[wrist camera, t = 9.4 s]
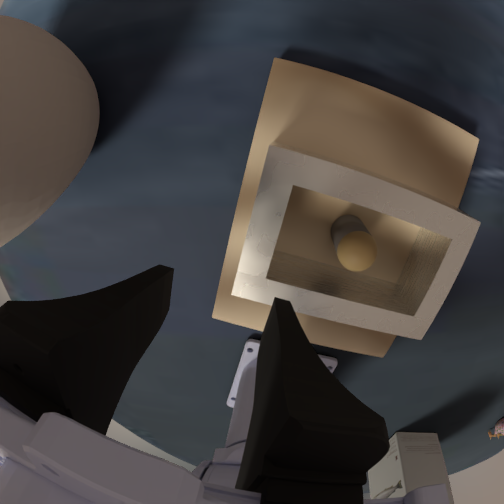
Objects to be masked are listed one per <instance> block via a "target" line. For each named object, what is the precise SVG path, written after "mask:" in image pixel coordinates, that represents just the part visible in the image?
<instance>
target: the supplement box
mask: <svg viewBox="0 0 504 504" xmlns="http://www.w3.org/2000/svg"><path fill="white" fill-rule="evenodd" d="M389 444H390V448H389V451H388V453H387V454H386V455H385V456H384V457H383V458H382V460H380V461H379V462H378V463H377V464H376V465H375V466H373V467H372V468H371V469H370V470H368V476H369V487H370V499H384V498H396V497H404V496H405V495H406V494H407V493H409V492H410V491H412V490H414V489H416V488H419V487H422V486H429V485H435V484H442V483H444V484H446V489H447V494H448V498H449V503H450V504H454V501H453V496H452V492H451V487H450V482H449V478H448V474H447V469H446V465H445V462H444V458H443V454H442V450H441V447H440V443H439V440H438V436H437V433H416V432H396V433H395V434H394V435H393V436H392V438H390V439H389Z"/></svg>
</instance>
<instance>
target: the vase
mask: <svg viewBox="0 0 504 504" xmlns="http://www.w3.org/2000/svg"><path fill="white" fill-rule="evenodd" d="M99 115H100V110H99V100H98V94H97V90H96V87H95V84H94V82H93V80H92V78H91V76H90V74H89V73H88V71H87V69H86V68H85V66H84V65H83V63H82V62H81V61H80V60H79V59H78V58H77V56H76V55H75V54H74V53H73V52H72V51H71V50H70V49H69V48H68V47H67V46H66V45H65V44H64V43H62V42H61V41H60V40H59V39H57V38H56V37H54V36H53V35H51V34H50V33H48V32H47V31H45V30H44V29H42V28H40V27H37V26H35V25H33V24H31V23H28V22H26V21H23V20H20V19H16V18H12V17H9V16H2V15H0V247H1V246H3V245H4V244H6V243H7V242H9V241H10V240H11V239H13V238H14V237H16V236H17V235H19V234H20V233H21V232H23V231H24V230H25V229H26V228H27V227H29V226H30V225H31V224H32V223H33V222H35V221H36V220H37V219H38V218H39V217H40V216H41V215H42V214H43V213H44V212H45V211H46V210H47V209H48V208H49V207H50V206H51V205H52V204H53V203H54V202H55V201H56V200H57V199H58V197H59V196H60V195H61V194H62V193H63V192H64V191H65V189H66V188H67V187H68V186H69V184H70V183H71V182H72V181H73V179H74V178H75V177H76V175H77V174H78V172H79V171H80V169H81V168H82V166H83V165H84V163H85V161H86V160H87V158H88V156H89V154H90V152H91V150H92V147H93V145H94V142H95V139H96V135H97V131H98V126H99Z"/></svg>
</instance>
